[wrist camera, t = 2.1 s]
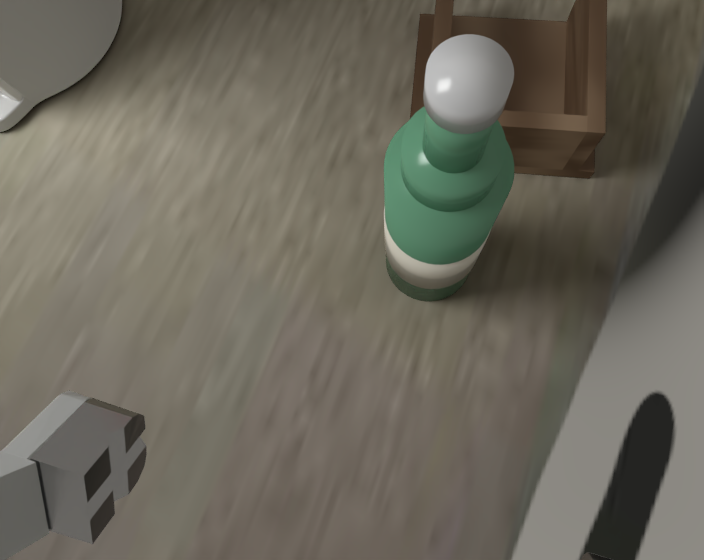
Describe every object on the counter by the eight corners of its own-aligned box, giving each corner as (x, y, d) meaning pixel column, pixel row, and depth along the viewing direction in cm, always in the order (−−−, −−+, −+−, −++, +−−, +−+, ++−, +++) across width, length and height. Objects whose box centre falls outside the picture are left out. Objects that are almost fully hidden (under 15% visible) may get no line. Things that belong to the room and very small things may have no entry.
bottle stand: (405, 164, 40) (408, 119, 35) (419, 23, 43) (424, -41, 37) (589, 178, 39) (623, 134, 34) (591, 32, 42) (624, -32, 36)
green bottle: (381, 297, 38) (371, 147, 18) (389, 216, 40) (388, -9, 19) (468, 305, 38) (558, 160, 18) (473, 223, 39) (563, 0, 19)
